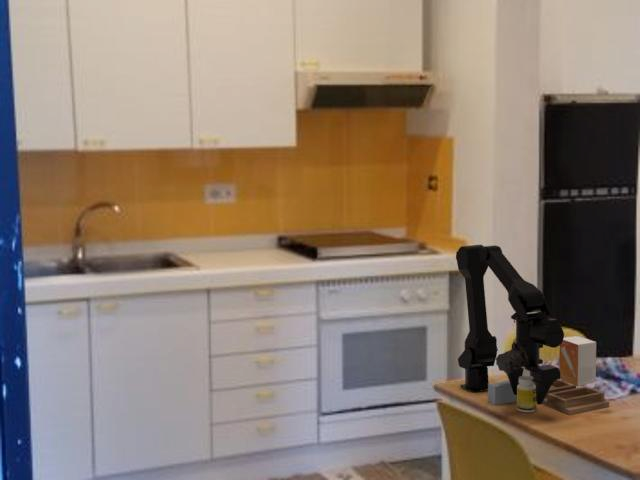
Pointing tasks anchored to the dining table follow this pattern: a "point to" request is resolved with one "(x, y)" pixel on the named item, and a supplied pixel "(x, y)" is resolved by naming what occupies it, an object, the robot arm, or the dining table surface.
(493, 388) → the blue-gray rectangular block
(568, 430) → the dining table surface
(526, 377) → the supplement bottle
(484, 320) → the robot arm
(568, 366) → the small box
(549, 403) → the jig
